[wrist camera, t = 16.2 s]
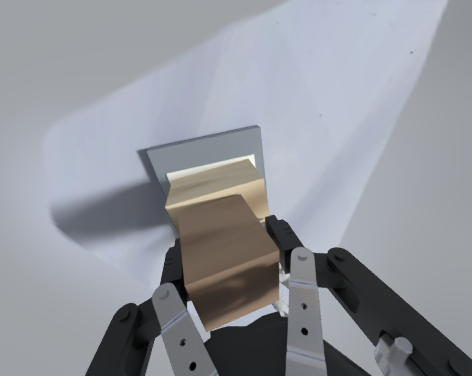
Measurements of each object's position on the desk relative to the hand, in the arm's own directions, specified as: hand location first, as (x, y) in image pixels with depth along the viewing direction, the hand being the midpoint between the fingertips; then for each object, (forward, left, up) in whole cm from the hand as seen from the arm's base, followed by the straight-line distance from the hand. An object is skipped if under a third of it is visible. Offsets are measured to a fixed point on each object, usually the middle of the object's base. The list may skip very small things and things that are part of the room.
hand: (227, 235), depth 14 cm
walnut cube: (0, +1, -1) cm, 2 cm away
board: (0, 0, -8) cm, 8 cm away
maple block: (0, 0, -7) cm, 7 cm away
